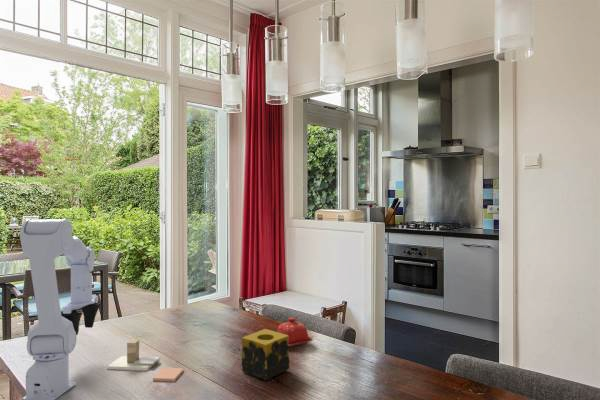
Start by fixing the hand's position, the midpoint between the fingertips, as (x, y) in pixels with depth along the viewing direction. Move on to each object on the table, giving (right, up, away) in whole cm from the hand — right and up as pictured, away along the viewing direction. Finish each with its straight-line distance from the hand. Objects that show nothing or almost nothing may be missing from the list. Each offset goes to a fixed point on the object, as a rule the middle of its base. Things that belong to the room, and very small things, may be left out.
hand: (81, 331), depth 126 cm
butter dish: (+64, -10, +18) cm, 67 cm away
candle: (+57, -9, -7) cm, 58 cm away
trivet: (+17, -9, -2) cm, 19 cm away
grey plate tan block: (+20, -8, -3) cm, 22 cm away
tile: (+27, -9, -10) cm, 30 cm away
